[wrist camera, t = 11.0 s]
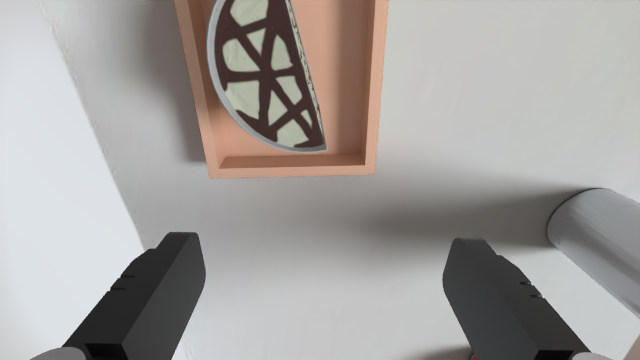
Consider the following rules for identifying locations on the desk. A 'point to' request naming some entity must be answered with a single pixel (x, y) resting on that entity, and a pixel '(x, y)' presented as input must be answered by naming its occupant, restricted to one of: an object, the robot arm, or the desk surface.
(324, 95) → the terracotta dish
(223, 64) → the food container
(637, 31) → the desk surface
